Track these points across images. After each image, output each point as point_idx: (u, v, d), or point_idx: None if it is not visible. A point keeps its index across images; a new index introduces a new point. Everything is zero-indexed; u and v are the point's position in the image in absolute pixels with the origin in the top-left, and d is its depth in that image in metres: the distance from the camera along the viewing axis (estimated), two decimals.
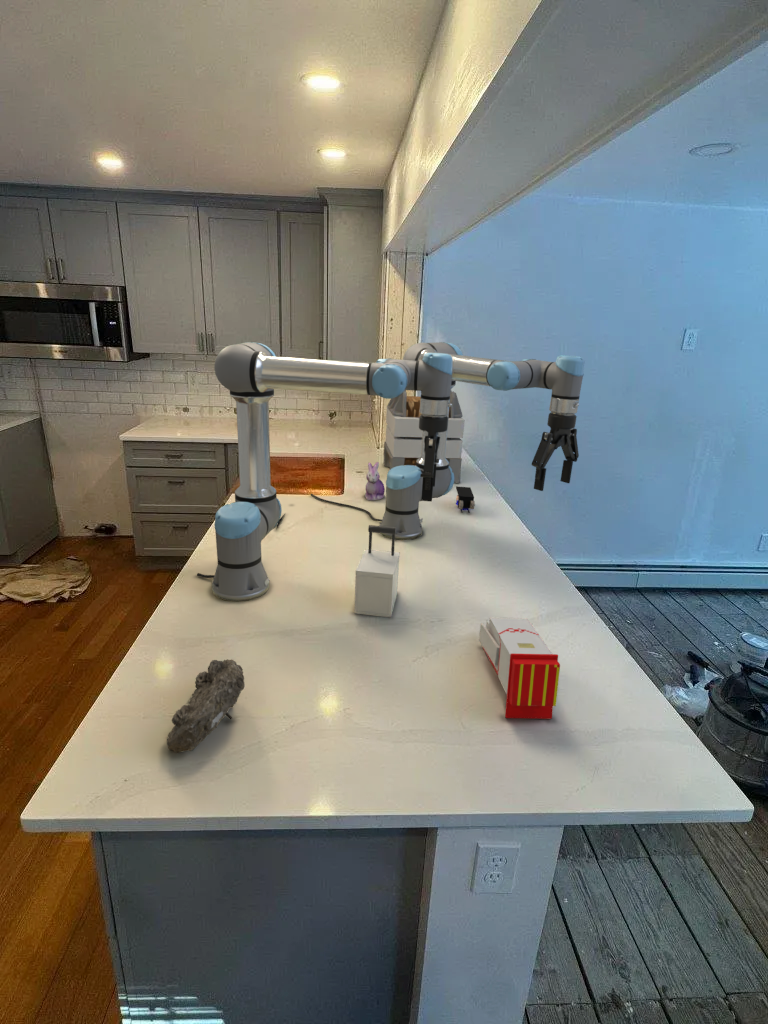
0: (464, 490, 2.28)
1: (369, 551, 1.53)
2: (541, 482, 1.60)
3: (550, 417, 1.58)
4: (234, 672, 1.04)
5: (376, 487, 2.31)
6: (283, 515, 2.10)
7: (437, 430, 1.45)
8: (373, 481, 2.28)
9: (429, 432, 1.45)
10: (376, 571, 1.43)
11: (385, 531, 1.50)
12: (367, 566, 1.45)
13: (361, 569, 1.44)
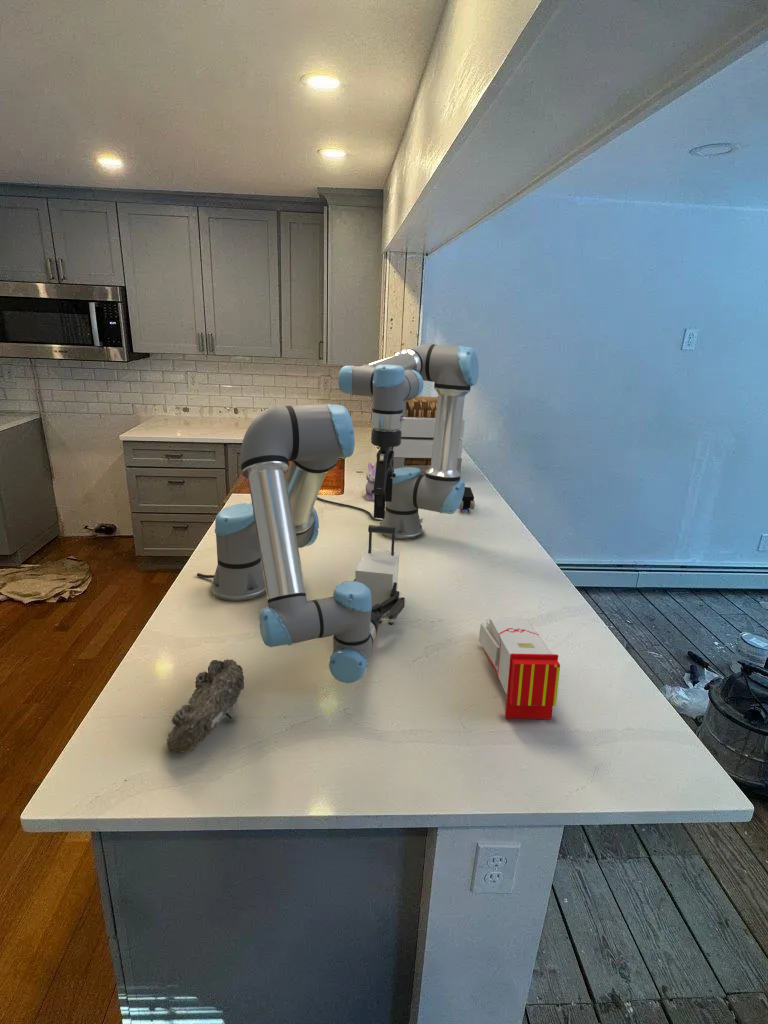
0: (464, 490, 2.28)
1: (369, 551, 1.53)
2: (382, 509, 1.41)
3: (378, 435, 1.39)
4: (234, 672, 1.04)
5: None
6: None
7: None
8: (373, 481, 2.28)
9: None
10: (376, 571, 1.43)
11: (384, 531, 1.50)
12: (367, 566, 1.45)
13: (361, 569, 1.44)
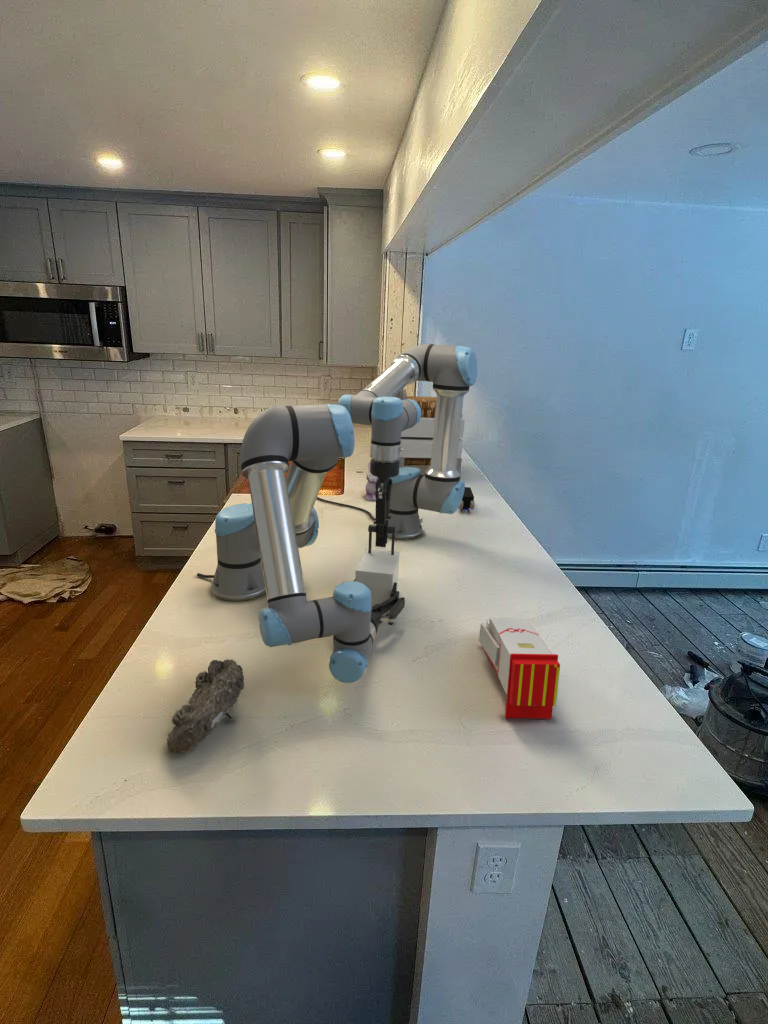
0: (464, 490, 2.28)
1: (369, 551, 1.53)
2: (384, 538, 1.49)
3: (376, 466, 1.41)
4: (234, 672, 1.04)
5: None
6: None
7: None
8: (373, 481, 2.28)
9: None
10: (376, 571, 1.43)
11: None
12: (367, 566, 1.45)
13: (361, 569, 1.44)
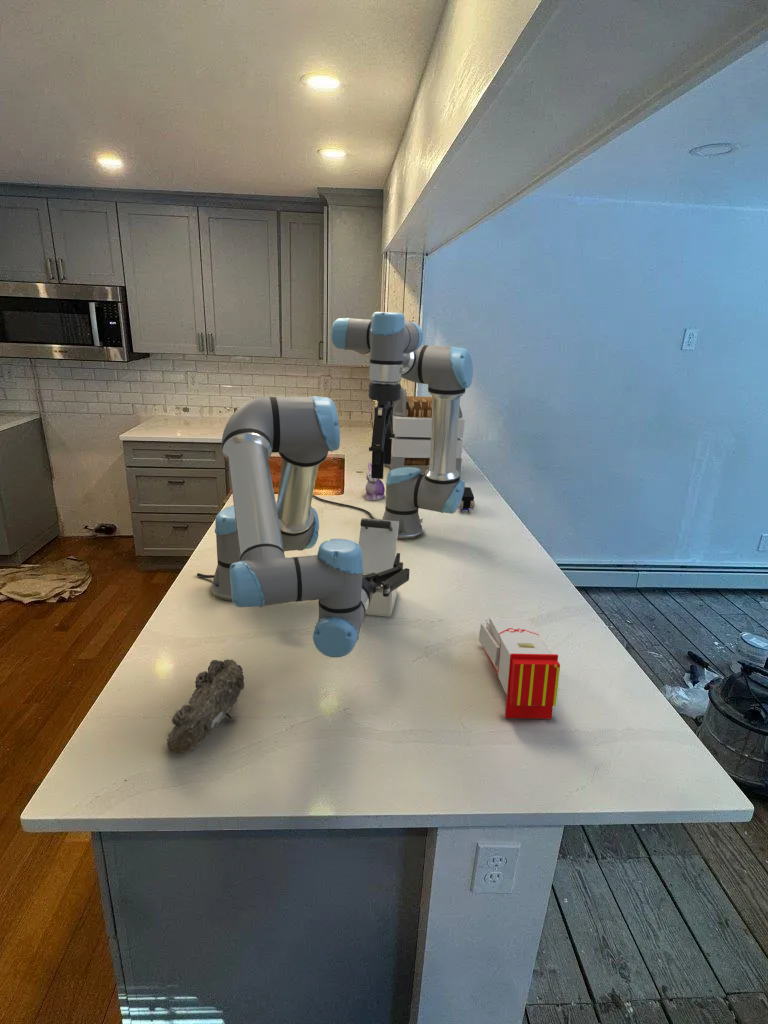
0: (464, 490, 2.28)
1: (366, 528, 1.44)
2: (381, 468, 1.31)
3: (375, 388, 1.29)
4: (234, 672, 1.04)
5: (376, 487, 2.31)
6: None
7: None
8: (373, 481, 2.28)
9: None
10: (375, 571, 1.42)
11: (379, 528, 1.37)
12: (366, 562, 1.43)
13: None
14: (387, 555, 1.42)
